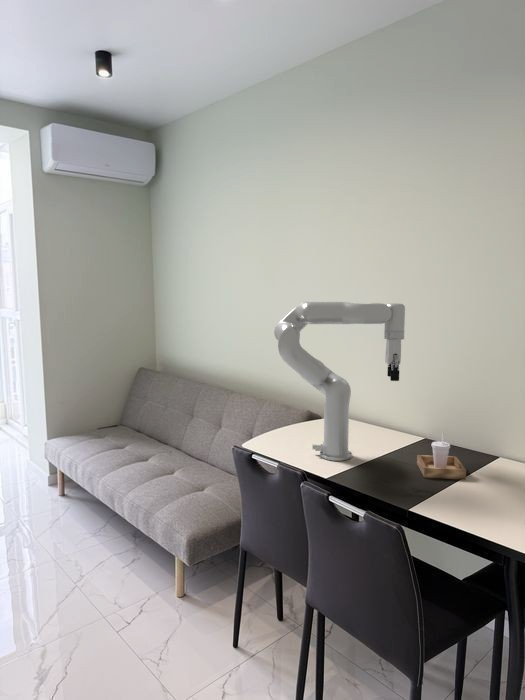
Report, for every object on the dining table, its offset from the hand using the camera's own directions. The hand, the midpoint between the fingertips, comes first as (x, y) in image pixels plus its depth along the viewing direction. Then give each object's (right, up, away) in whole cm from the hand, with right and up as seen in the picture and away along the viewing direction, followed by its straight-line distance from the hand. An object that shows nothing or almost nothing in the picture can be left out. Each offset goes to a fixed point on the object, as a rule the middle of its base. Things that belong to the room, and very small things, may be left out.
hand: (393, 378), depth 199 cm
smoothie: (+12, -32, -17) cm, 38 cm away
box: (+13, -33, -17) cm, 39 cm away
